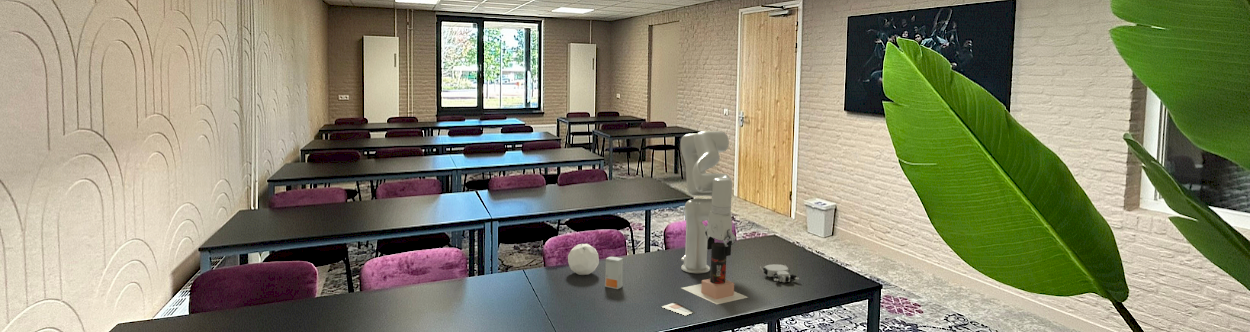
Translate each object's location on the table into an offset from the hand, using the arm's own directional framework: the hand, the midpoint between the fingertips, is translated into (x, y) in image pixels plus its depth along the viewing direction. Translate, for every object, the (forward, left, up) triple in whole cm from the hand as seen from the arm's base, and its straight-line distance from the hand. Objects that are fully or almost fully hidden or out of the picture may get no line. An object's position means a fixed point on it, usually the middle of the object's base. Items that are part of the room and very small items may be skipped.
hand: (718, 252), depth 283 cm
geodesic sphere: (-50, -31, -18) cm, 62 cm away
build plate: (-1, 0, -18) cm, 18 cm away
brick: (+1, 0, -17) cm, 17 cm away
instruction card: (+5, -21, -18) cm, 28 cm away
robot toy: (-3, +38, -18) cm, 42 cm away
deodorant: (+1, 0, -12) cm, 12 cm away
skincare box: (-29, -29, -18) cm, 45 cm away
